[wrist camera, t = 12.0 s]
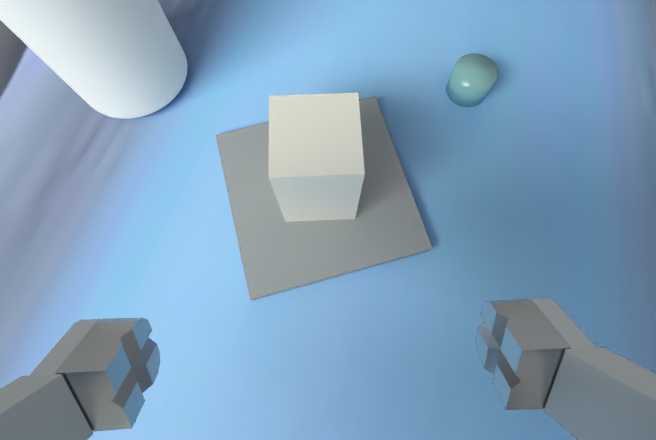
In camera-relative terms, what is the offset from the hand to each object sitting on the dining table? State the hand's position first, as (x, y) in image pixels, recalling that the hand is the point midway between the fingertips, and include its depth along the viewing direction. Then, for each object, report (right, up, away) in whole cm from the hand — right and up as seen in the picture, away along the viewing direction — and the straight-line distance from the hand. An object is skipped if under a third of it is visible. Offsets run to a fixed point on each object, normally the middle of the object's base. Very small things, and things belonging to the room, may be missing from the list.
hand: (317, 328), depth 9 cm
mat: (0, +5, +16) cm, 17 cm away
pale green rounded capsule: (+11, +13, +19) cm, 25 cm away
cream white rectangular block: (0, +5, +16) cm, 16 cm away
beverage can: (-14, +14, +19) cm, 28 cm away
